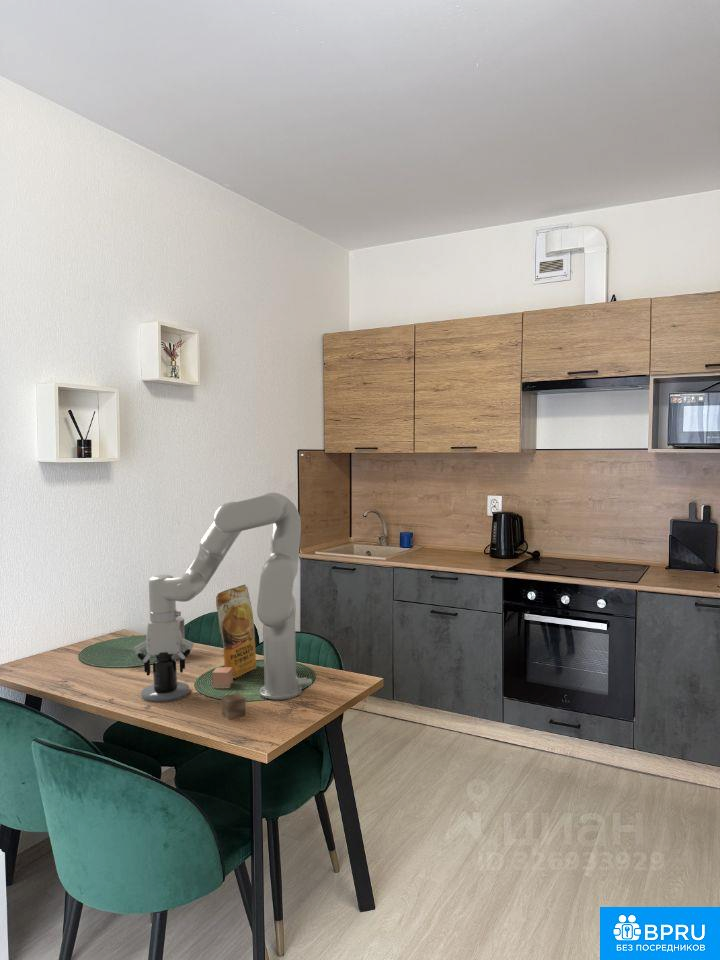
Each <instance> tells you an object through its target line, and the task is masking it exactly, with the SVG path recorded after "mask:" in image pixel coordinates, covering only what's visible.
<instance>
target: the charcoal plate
mask: <svg viewBox="0 0 720 960" xmlns="http://www.w3.org/2000/svg"><path fill="white" fill-rule="evenodd" d="M189 693H190V685H189V684H188V683H185V682H180V681H177V689H176V690H174V691H172V692H168V693H157V692H155V691H154V684H151V685H148V686H146V687H145V688H143V689H142V690H141V691H140V697H142V698H141V699H142V700H143V699H144V701H145V700H146V702H149V701H151V702H150V703H165V702H167V703H168V702H172V701H177V700H179V699H182V698H184V697H186V696H188V694H189Z"/></svg>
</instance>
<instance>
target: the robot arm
mask: <svg viewBox="0 0 720 960" xmlns="http://www.w3.org/2000/svg"><path fill="white" fill-rule="evenodd" d="M213 516H214V518H213V522H212V524H211V525H209V527H208V529H207V530H206V532H205V533H204V535H203V537H202V538H201V540H200V543H199V549H198V553H197V555H196V557H195V558H194V560H193V561H192V563H191V564H190V566H189V567H188V569H187V570H186V572H185V573H184V574H182V575H180V576H178V577H174V576H172V575H170V574H157V575H153V576H150V578H149V580H148V597H149V598H148V601H149V602H148V603H149V621H147V624H146V635H145V636H146V639H145V641H143V642H141V643H139V644H138V645H136V646H135V647H134V648H133V651H134V652H135V654H136V655H137V658H139V659H140V660H141V661H142V662H143V666H144V669H143V670H144V671H143V672H144V673H146V676H147V677H148V676H150V674H151V660H150V658H151V657H152V656H153V657H156V656H157V655H159V653H164V652H168V654H177V655H178V656H179V657H180V659H179V673H181V674H183V673H184V672H183V671H184V670H185V669H186V657H189V656H188V655H189V654H191V653H192V649H193V648H194V647H195V646H194V644H195V643H194V642H192V641H191V640H188V639H186V638H185V639H184V638H182V637H181V628H180V622H179V619H176V618H177V617H178V616H181V617H182V612H181V611H178V610H177V605H176V602H181V603H182V602H185V603H186V602H190V601H191V600H193V599H194V598H196V597H197V596H198V595H199V594H200V593H202V591H204V589H205V588H206V587H207V585H208V584H209V582H210V580H211V579H212V577H213V575H215V573H216V571H217V570H218V568H219V566H220V565H221V563H222V561H224V558H225V557H226V555H227V554H228V552H229V550H230V549H231V547H232V546H233V544H234V543H235V541H236V540H237V538H238V537H239V536H240V534H241V533H242V532H243V531H248V530H251V529H256V528H259V527H265V526H268V525H272V532H271V539H270V549H269V550H270V552H269V556H268V559H267V560H266V561H265V563H264V564H263V566H262V569H261V573H260V580H259V588H258V595H257V604H256V614H257V617H258V620H259V621H260V622H261V624H262V625H263V626H262V628H263V629H262V630H263V633H262V637H263V639H262V642H263V643H262V644H263V677H264V679H263V681H264V685H263V686H261V687H260V688H259V695H260V696H261V697H262V696H263V697H262V698H264V697H265V698H264V699H267V698H268V700H277V701H280V700H287V699H292V698H295V697H297V696H299V695H300V694H302V689H303V687H304V686H313V680H312V678H307V676H306V677H299V676H298V675H297V661H296V660H297V659H296V657H297V656H296V612H297V611H296V609H297V608H296V599H295V597H294V595H293V591H294V590H293V589H294V581H295V579H296V577H297V575H298V571H299V569H298V568H299V555H300V547H301V544H300V543H301V533H302V522H301V516H300V512H299V511H298V509H297V507H296V505H295V503H294V502H293V501H291V499H289V498H288V497H287V496H285V495H283V494H281V493H278V492H268V493H266V494H264V495H260V496H256V497H253V498H248V499H243V500H239V501H229V502H227V503H224V504H222V505H220V506H219V507H218V508H217V509H216V511H215V513H214V515H213ZM182 644H185V646H187V648H186V649H185V652H183V651H182V650H181V648H182ZM143 648H146V650H145V651H146V654H144V653H143V652H142V651H141V649H143Z"/></svg>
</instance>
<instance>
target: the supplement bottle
mask: <svg viewBox="0 0 720 960" xmlns="http://www.w3.org/2000/svg"><path fill="white" fill-rule="evenodd" d="M172 656H173V654H168V652H164V653H159V655H157V656H155V658H156V659H155V660H154V661H153V662H152V671H153V672H152V677H153V685H154V691H155V692H157V693H168V692H172V691H174V690H176V689H177V682H178V671H177V670H178V668H177V660H175V659H174V658H173V657H172Z"/></svg>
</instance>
